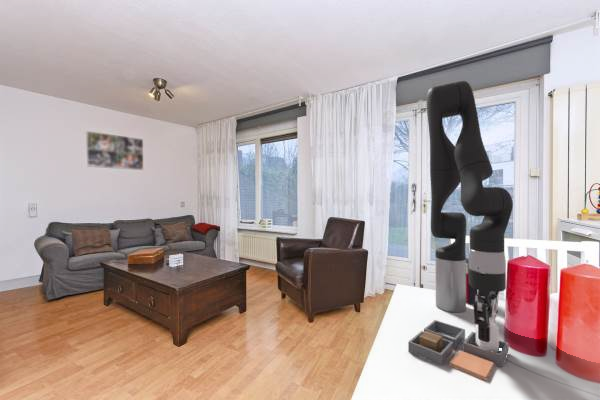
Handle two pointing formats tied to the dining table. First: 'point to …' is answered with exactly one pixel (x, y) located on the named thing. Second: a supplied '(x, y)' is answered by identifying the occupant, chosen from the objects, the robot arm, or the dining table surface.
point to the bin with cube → (430, 354)
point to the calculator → (469, 287)
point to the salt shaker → (494, 336)
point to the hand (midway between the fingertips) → (486, 335)
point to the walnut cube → (431, 341)
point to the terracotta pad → (472, 364)
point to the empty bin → (447, 329)
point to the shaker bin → (485, 354)
